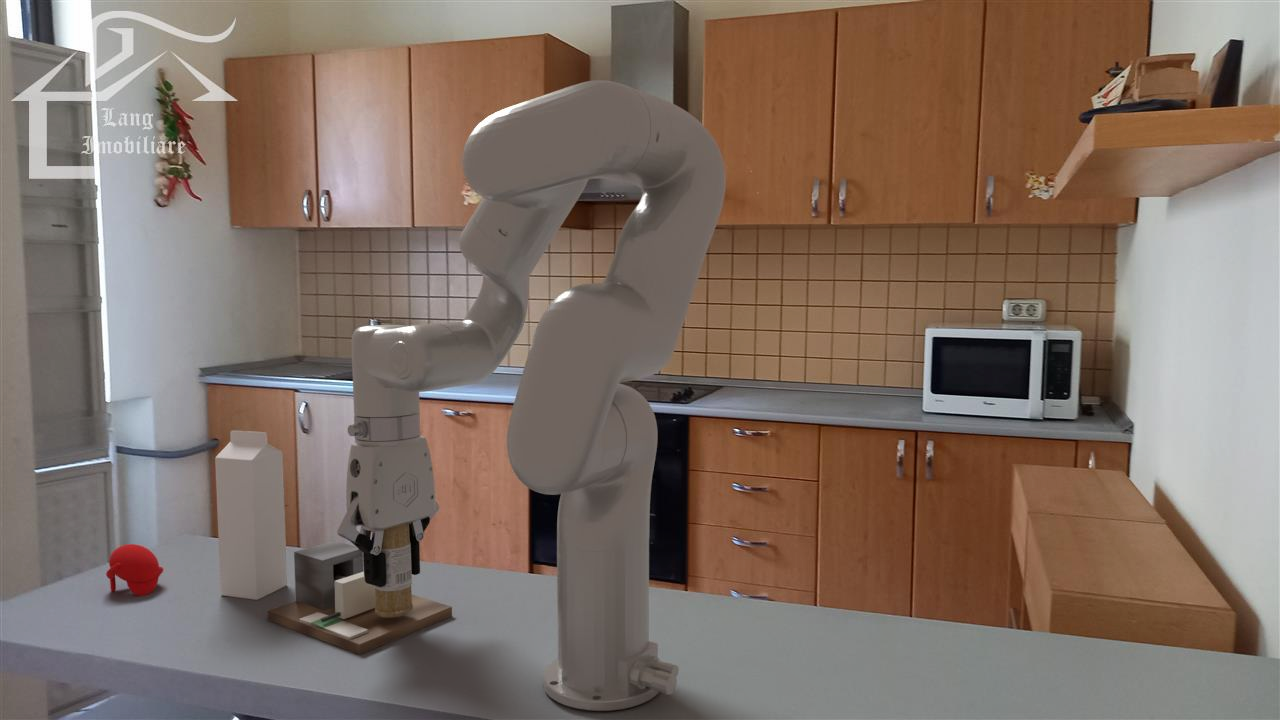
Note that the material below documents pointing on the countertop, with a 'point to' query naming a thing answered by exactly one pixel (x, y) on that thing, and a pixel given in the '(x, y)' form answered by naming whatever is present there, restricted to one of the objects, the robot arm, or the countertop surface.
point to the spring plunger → (352, 596)
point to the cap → (134, 568)
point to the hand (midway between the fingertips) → (392, 576)
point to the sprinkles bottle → (395, 574)
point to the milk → (250, 516)
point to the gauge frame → (319, 601)
